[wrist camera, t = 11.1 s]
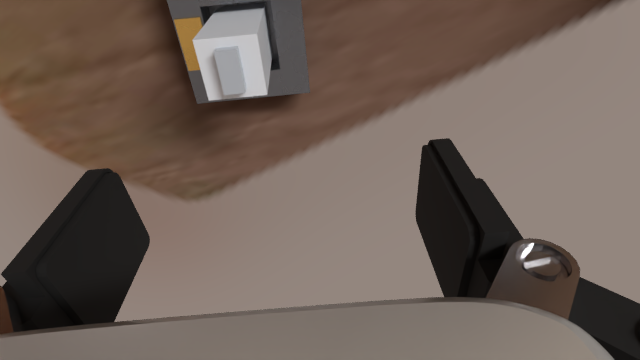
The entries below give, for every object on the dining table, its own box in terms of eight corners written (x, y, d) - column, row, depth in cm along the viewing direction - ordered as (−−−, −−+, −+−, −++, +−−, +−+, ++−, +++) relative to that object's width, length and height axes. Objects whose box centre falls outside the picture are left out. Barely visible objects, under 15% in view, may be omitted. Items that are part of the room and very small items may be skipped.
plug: (265, 2, 31) (256, 37, 22) (272, 51, 33) (266, 99, 24) (218, 7, 31) (189, 43, 22) (228, 55, 33) (206, 105, 24)
